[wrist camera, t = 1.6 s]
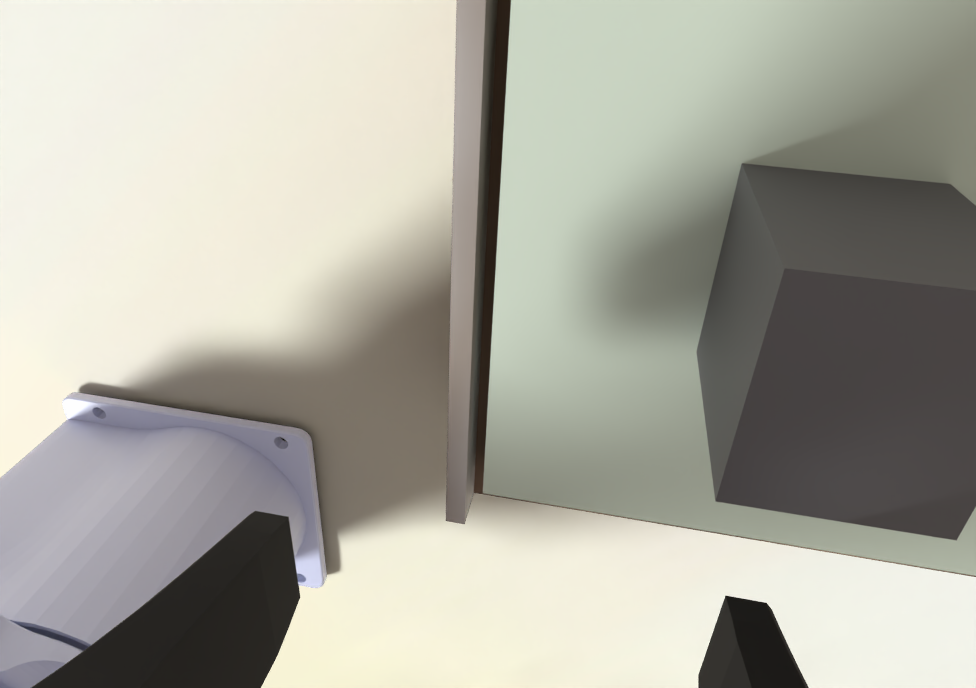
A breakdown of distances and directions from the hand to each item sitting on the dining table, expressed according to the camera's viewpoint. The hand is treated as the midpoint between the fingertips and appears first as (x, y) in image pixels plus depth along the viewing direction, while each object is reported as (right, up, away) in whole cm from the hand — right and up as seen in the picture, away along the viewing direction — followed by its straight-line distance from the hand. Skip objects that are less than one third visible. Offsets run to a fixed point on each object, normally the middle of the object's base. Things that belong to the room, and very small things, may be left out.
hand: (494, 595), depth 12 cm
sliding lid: (+6, +6, +3) cm, 9 cm away
